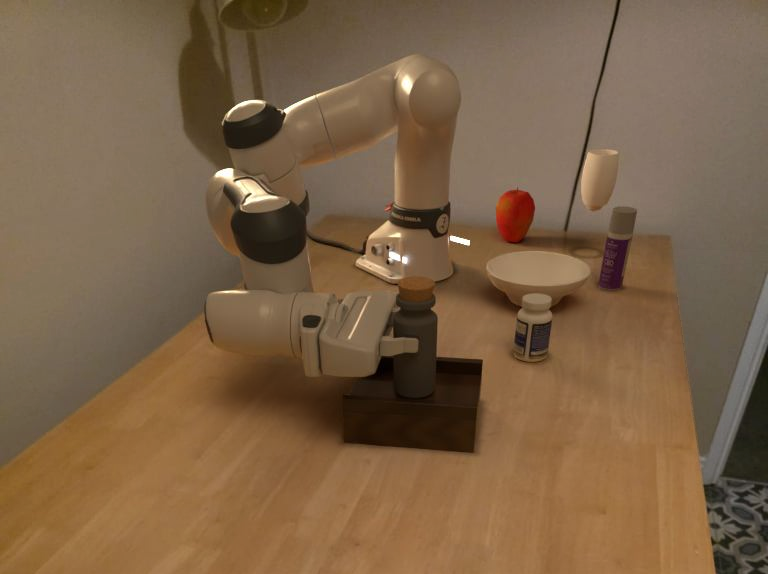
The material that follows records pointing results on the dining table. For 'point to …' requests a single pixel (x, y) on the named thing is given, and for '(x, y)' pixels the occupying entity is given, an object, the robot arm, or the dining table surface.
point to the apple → (514, 214)
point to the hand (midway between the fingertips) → (422, 332)
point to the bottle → (417, 319)
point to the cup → (599, 178)
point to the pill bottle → (533, 328)
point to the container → (617, 248)
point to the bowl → (537, 274)
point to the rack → (416, 408)
